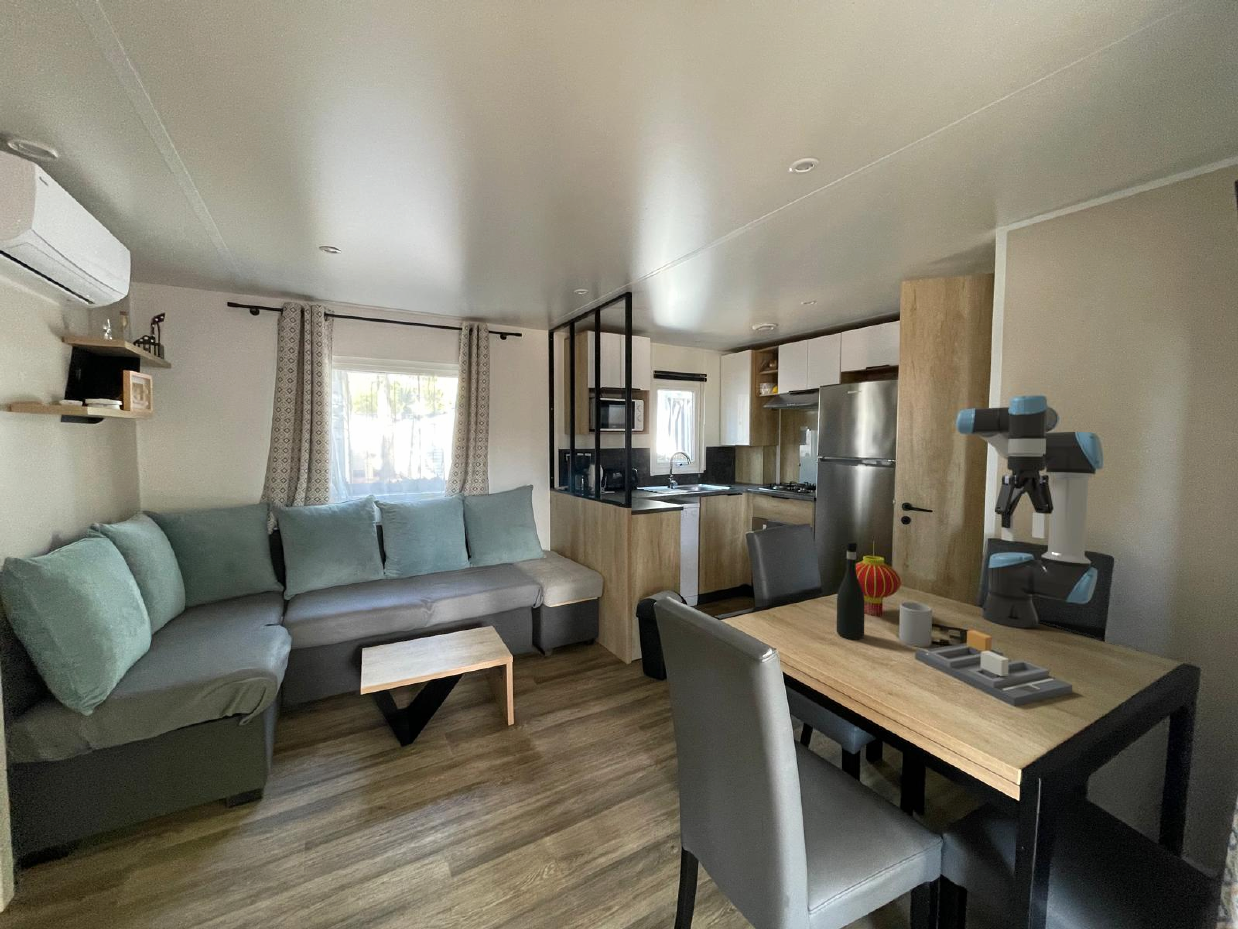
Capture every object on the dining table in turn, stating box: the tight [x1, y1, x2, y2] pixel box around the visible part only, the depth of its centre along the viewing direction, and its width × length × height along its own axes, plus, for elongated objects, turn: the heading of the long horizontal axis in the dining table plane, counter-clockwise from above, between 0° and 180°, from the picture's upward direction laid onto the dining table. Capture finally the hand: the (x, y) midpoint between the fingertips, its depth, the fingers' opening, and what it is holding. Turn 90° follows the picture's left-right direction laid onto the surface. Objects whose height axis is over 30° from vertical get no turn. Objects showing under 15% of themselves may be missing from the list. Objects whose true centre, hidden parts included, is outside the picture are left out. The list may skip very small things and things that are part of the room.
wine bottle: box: [836, 541, 865, 640], centre depth 152 cm, size 8×8×30 cm
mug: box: [898, 601, 933, 648], centre depth 149 cm, size 12×8×11 cm
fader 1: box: [966, 629, 993, 655], centre depth 133 cm, size 3×5×6 cm, turn 17°
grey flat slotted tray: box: [914, 642, 1073, 707], centre depth 126 cm, size 20×26×4 cm
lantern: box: [856, 542, 902, 617], centre depth 172 cm, size 17×17×30 cm
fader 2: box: [981, 651, 1010, 679], centre depth 120 cm, size 3×5×6 cm, turn 17°
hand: (1023, 539), depth 126 cm, fingers open, 11 cm apart
